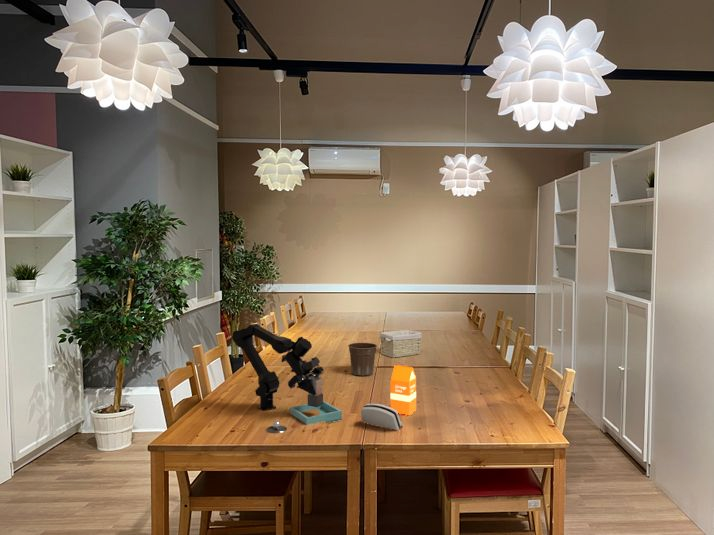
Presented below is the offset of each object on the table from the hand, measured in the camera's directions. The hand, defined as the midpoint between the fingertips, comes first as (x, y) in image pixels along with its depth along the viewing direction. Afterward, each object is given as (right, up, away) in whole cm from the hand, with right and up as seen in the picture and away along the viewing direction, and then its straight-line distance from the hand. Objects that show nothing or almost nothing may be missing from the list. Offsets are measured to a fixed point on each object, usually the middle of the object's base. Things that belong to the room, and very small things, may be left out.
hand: (317, 393), depth 205 cm
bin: (-1, -11, +1) cm, 11 cm away
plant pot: (+19, -8, +72) cm, 75 cm away
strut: (-1, -5, +1) cm, 5 cm away
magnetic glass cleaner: (+26, -12, -7) cm, 29 cm away
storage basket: (+45, -5, +119) cm, 128 cm away
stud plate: (-15, -12, -15) cm, 24 cm away
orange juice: (+36, -10, +9) cm, 39 cm away
